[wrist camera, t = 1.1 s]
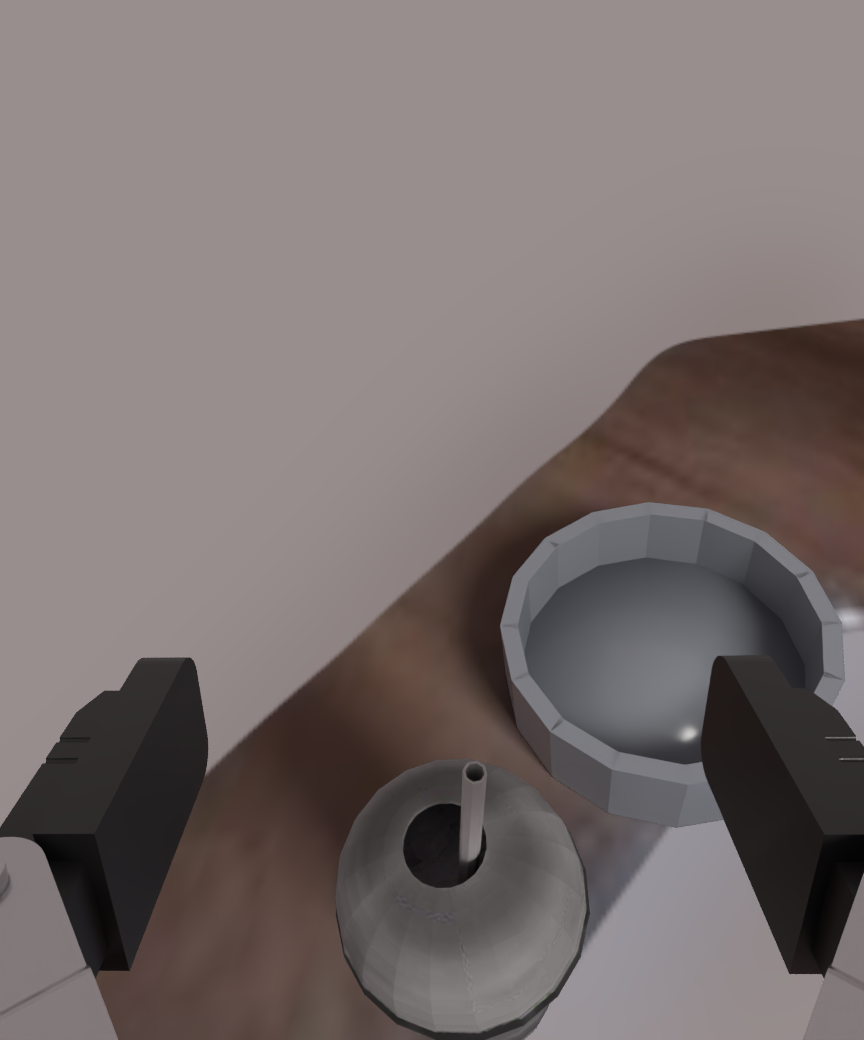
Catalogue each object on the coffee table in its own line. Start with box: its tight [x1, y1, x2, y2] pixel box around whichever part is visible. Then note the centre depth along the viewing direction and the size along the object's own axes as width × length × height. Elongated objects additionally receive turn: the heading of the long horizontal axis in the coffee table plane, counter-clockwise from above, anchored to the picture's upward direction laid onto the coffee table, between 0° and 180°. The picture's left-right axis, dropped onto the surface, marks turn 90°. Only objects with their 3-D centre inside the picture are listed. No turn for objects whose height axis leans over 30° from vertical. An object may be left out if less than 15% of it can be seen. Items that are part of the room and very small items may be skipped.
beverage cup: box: [335, 759, 590, 1040], centre depth 24 cm, size 7×7×20 cm
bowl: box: [500, 502, 845, 828], centre depth 37 cm, size 15×15×4 cm
